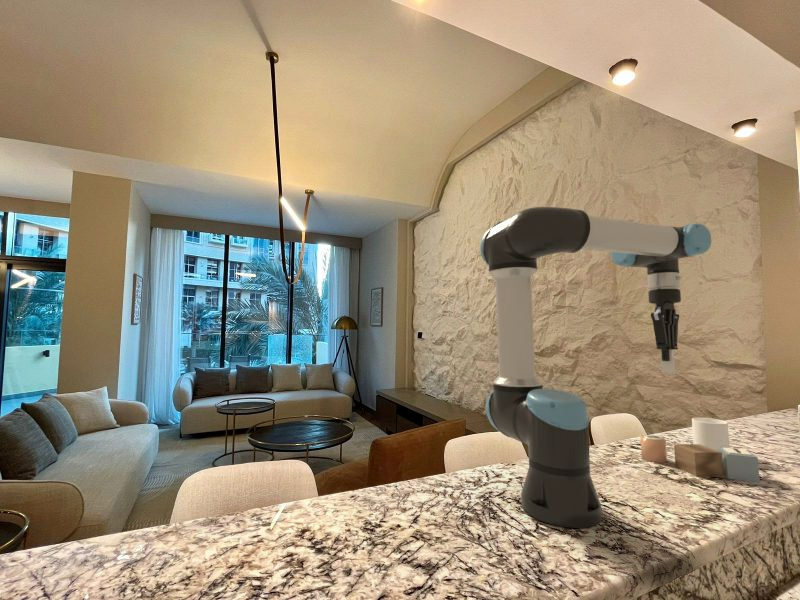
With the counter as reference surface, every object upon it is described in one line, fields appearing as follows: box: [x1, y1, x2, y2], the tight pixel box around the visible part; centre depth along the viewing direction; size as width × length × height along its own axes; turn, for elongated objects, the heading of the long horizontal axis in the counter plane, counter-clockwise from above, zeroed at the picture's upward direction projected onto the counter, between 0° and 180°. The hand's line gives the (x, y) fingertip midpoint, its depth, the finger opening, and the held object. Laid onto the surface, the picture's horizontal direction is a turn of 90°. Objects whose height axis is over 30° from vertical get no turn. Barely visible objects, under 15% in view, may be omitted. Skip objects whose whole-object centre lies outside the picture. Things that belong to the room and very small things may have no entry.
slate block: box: [718, 447, 761, 483], centre depth 95 cm, size 6×6×6 cm
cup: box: [691, 417, 731, 451], centre depth 112 cm, size 8×12×10 cm
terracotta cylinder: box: [640, 434, 668, 464], centre depth 108 cm, size 6×6×6 cm
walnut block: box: [673, 443, 724, 478], centre depth 99 cm, size 7×7×6 cm
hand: (668, 372), depth 105 cm, fingers closed
